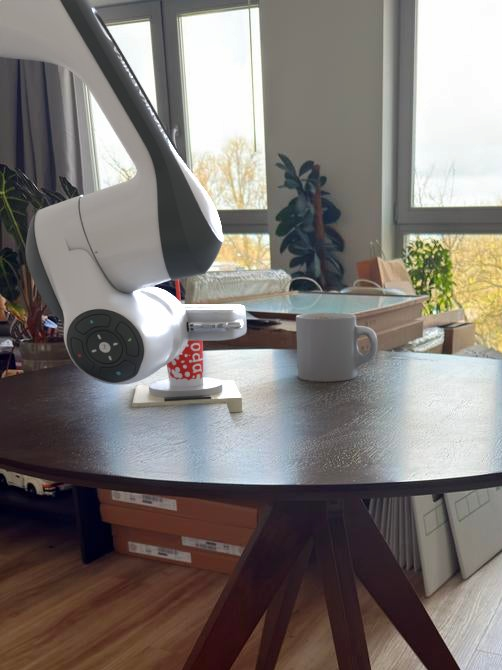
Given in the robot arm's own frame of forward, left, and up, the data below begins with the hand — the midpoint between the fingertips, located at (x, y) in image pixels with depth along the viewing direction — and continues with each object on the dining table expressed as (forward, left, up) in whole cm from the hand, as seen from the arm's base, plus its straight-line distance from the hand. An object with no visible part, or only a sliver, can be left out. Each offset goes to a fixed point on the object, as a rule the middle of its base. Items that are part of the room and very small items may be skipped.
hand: (174, 315), depth 95 cm
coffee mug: (+26, +18, -13) cm, 34 cm away
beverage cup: (+1, +2, -10) cm, 10 cm away
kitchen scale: (+1, +2, -12) cm, 13 cm away
